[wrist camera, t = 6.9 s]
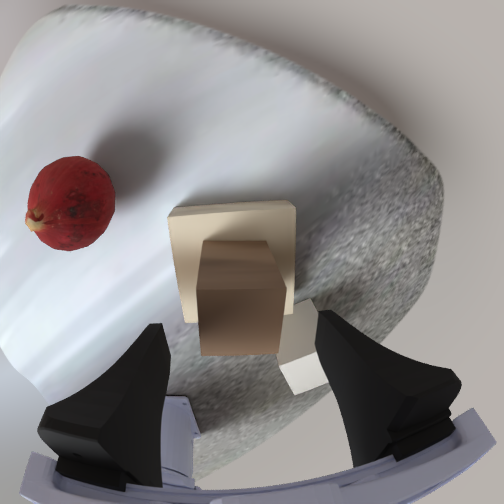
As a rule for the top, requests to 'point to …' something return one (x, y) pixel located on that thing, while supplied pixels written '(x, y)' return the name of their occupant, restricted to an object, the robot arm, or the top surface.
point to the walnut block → (239, 299)
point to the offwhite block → (300, 349)
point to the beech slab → (231, 229)
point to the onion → (70, 203)
